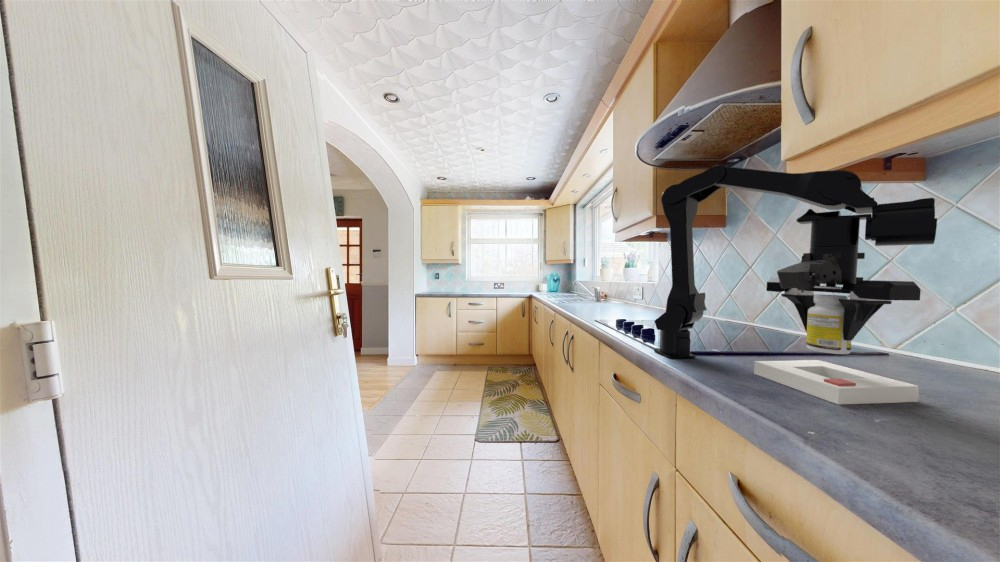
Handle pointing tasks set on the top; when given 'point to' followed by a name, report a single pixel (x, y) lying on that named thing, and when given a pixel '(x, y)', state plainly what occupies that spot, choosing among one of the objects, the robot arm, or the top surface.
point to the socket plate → (836, 382)
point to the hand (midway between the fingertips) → (827, 336)
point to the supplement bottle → (827, 325)
